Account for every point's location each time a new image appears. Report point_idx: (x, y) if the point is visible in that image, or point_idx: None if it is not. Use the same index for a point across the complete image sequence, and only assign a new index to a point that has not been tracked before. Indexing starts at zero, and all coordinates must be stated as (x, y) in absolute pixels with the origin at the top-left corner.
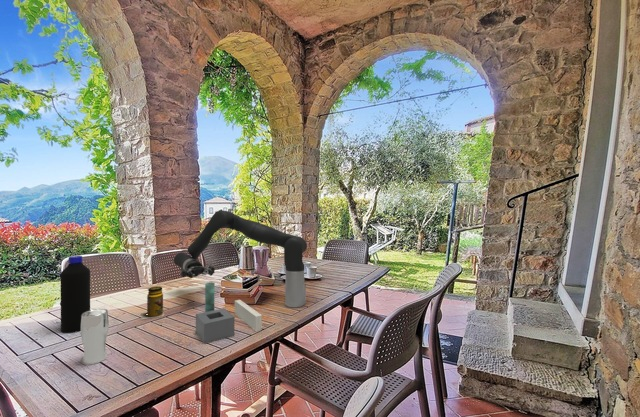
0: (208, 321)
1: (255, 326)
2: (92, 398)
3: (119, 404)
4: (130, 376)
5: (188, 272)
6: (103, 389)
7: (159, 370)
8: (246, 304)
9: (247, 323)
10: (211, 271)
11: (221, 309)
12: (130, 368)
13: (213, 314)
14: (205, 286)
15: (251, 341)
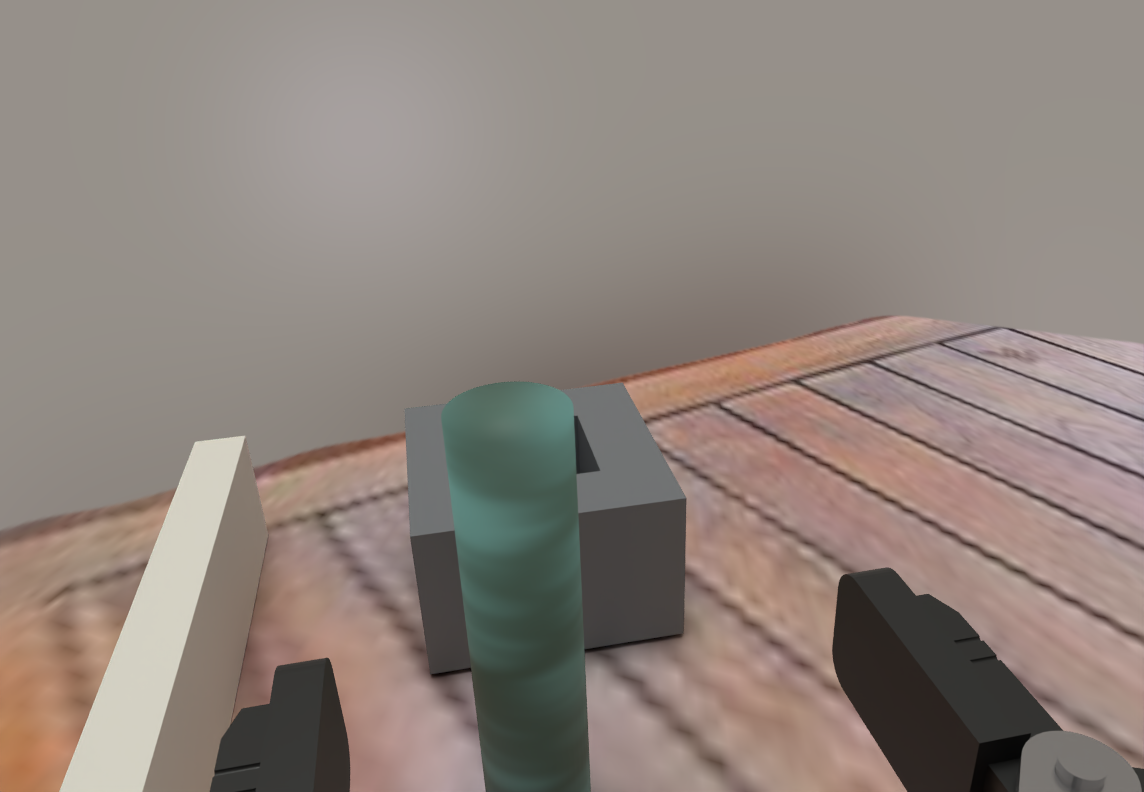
0: (591, 397)
1: (260, 506)
2: (1002, 350)
3: (888, 325)
4: (932, 396)
5: (1044, 764)
6: (996, 369)
7: (819, 399)
8: (120, 639)
9: (246, 623)
10: (309, 661)
11: (446, 518)
12: (968, 430)
13: None
14: (574, 432)
15: (358, 466)
